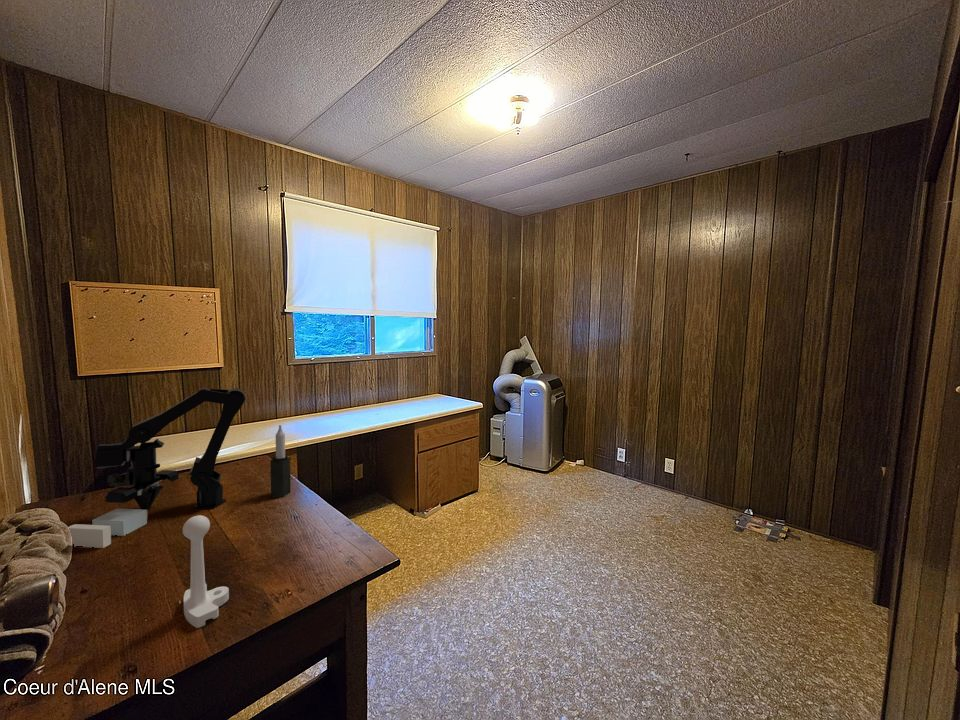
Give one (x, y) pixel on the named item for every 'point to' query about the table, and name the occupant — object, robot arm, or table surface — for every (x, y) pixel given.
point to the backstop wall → (90, 535)
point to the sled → (122, 520)
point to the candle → (280, 468)
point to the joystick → (200, 578)
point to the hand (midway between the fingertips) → (145, 512)
